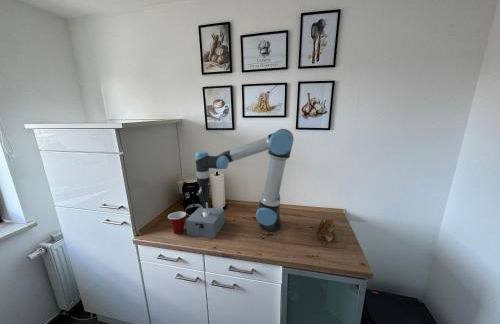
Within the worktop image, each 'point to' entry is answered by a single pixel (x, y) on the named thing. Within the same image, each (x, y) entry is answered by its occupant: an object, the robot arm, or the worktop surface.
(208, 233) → the socket block
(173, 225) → the plastic cup
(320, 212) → the worktop surface
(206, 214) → the peg
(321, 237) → the stuffed squirrel
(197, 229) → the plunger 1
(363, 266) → the worktop surface
